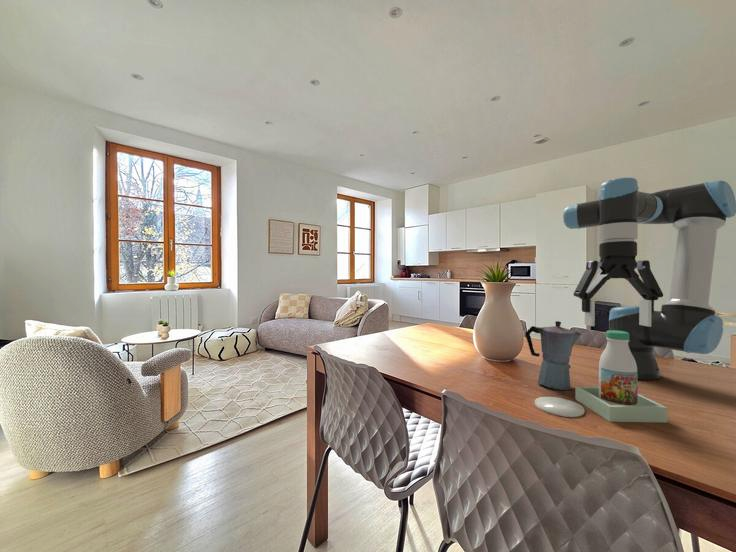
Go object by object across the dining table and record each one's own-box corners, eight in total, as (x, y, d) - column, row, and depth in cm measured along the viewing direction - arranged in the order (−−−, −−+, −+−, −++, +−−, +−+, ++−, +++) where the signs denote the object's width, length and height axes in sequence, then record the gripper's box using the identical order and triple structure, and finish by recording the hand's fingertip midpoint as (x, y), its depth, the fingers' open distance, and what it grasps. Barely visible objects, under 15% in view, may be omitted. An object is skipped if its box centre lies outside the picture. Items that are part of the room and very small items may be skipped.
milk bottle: (591, 404, 83) (591, 329, 83) (618, 403, 84) (618, 328, 84) (616, 417, 76) (616, 334, 75) (646, 416, 76) (646, 334, 76)
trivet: (568, 399, 87) (568, 397, 87) (594, 417, 76) (595, 415, 76) (527, 398, 87) (527, 396, 87) (548, 416, 76) (548, 414, 76)
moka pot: (588, 393, 91) (588, 324, 91) (530, 389, 94) (530, 322, 94) (573, 381, 100) (573, 319, 100) (521, 378, 103) (521, 318, 103)
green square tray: (624, 399, 86) (624, 387, 86) (667, 422, 73) (667, 407, 73) (575, 399, 86) (575, 386, 86) (609, 421, 74) (609, 406, 73)
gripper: (656, 242, 82) (655, 323, 83) (558, 243, 84) (558, 322, 84) (683, 239, 75) (682, 328, 75) (576, 240, 76) (575, 327, 76)
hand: (617, 325), depth 79 cm, fingers open, 13 cm apart
